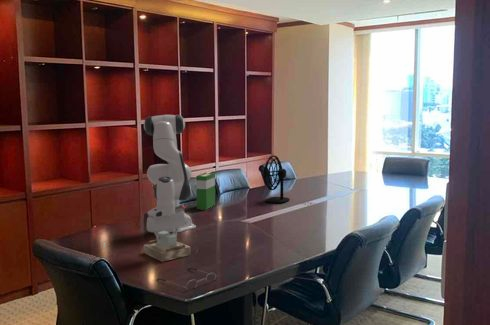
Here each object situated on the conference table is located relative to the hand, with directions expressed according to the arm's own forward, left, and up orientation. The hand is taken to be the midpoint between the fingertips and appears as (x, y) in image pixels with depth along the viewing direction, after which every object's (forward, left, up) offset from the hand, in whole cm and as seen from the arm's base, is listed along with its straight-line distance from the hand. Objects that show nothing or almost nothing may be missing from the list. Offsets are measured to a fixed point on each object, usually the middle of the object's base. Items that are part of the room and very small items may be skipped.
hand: (166, 237), depth 234 cm
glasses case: (0, 0, -4) cm, 4 cm away
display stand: (0, 0, -8) cm, 8 cm away
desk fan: (-132, -58, -8) cm, 144 cm away
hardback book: (-78, -75, -8) cm, 108 cm away
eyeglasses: (+12, +36, -9) cm, 39 cm away
